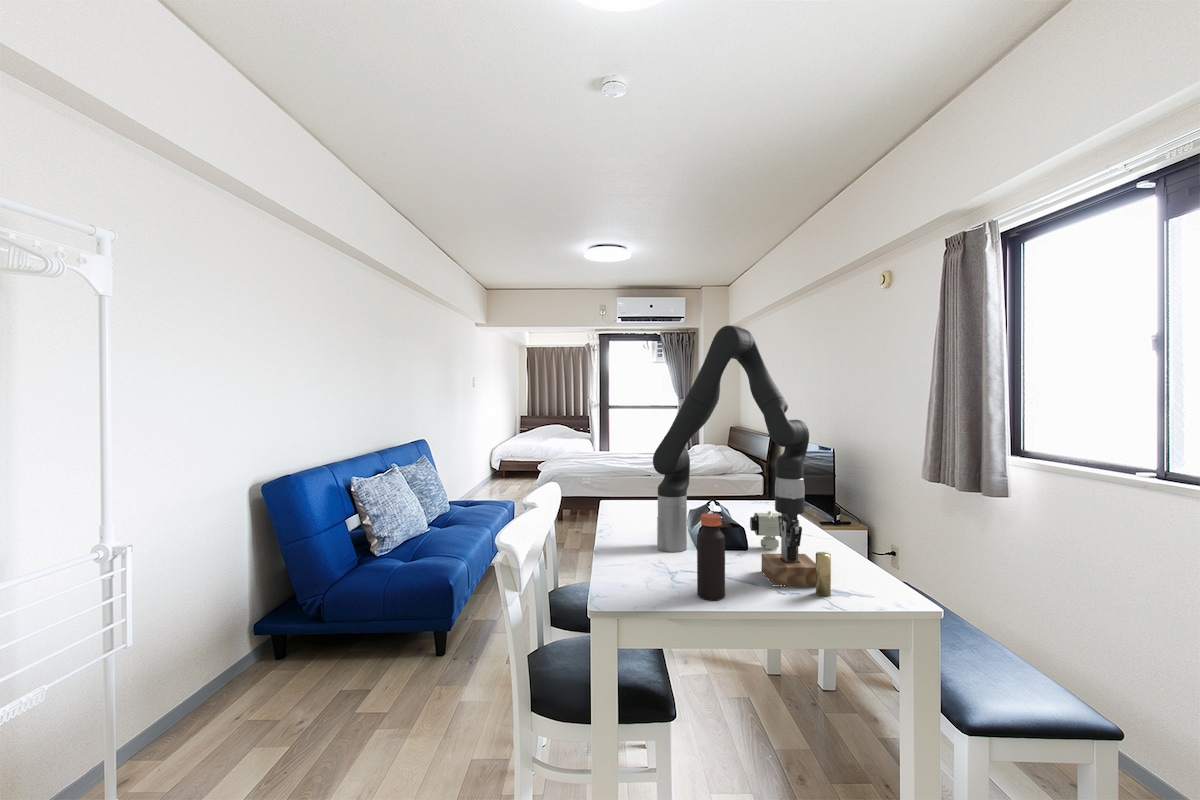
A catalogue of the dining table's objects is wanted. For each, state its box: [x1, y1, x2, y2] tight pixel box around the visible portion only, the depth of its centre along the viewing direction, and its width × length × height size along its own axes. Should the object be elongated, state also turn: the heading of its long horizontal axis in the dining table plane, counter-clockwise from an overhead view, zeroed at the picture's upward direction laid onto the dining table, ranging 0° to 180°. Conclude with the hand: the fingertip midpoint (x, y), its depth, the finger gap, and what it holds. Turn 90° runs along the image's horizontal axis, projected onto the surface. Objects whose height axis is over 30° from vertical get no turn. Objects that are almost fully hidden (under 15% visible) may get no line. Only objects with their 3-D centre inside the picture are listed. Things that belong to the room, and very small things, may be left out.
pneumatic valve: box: [749, 510, 782, 550], centre depth 178 cm, size 6×12×12 cm, turn 83°
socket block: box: [761, 553, 816, 587], centre depth 150 cm, size 12×12×5 cm
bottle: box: [696, 512, 726, 601], centre depth 138 cm, size 7×7×20 cm
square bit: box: [780, 529, 799, 563], centre depth 150 cm, size 4×4×10 cm
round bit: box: [815, 551, 832, 598], centre depth 139 cm, size 4×4×10 cm
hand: (789, 557), depth 150 cm, fingers closed on square bit, 3 cm apart
